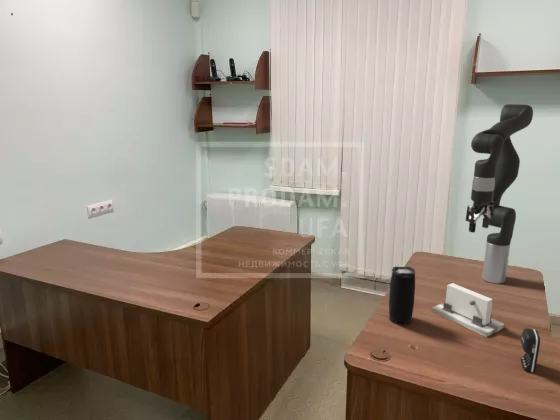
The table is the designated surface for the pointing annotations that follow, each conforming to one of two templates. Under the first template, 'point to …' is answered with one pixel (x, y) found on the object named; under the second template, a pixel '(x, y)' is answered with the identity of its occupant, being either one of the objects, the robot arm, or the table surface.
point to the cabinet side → (468, 320)
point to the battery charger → (530, 349)
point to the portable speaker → (401, 294)
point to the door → (469, 303)
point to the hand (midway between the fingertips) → (478, 229)
